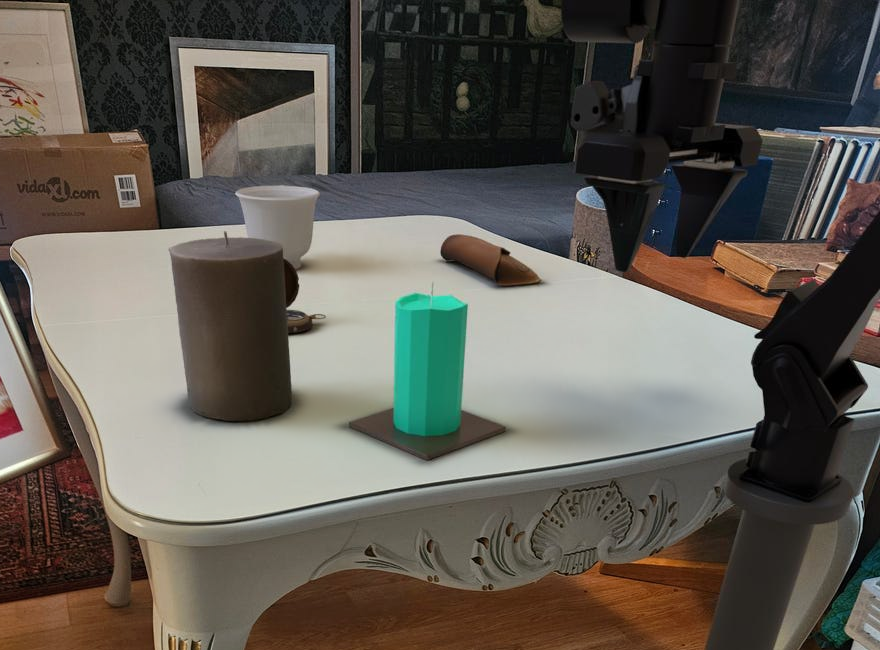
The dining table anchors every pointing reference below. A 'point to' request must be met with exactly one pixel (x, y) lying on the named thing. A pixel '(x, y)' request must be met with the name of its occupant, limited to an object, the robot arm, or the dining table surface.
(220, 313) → the pillar candle
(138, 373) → the dining table surface
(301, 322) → the compass
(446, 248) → the sunglasses case
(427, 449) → the mat
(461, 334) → the candle
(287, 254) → the teacup
